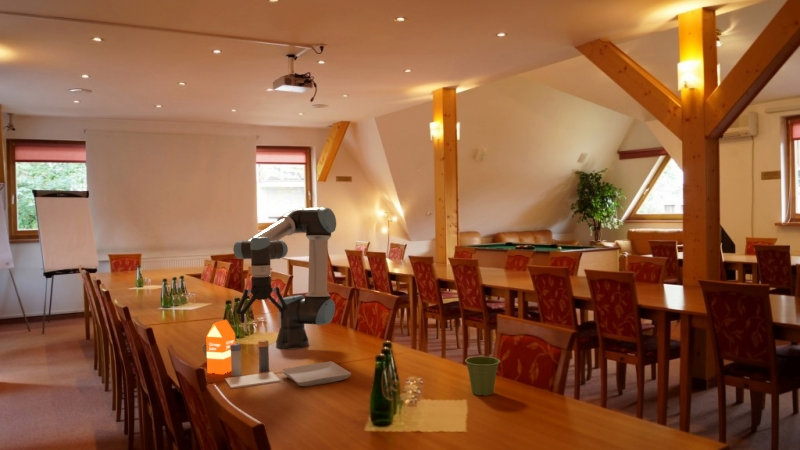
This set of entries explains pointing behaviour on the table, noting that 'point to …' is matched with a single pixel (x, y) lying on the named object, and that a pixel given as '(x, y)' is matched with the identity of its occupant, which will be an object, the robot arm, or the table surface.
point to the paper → (252, 380)
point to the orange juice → (219, 347)
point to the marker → (263, 356)
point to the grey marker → (235, 360)
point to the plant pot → (482, 374)
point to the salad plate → (316, 373)
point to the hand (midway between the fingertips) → (262, 329)
